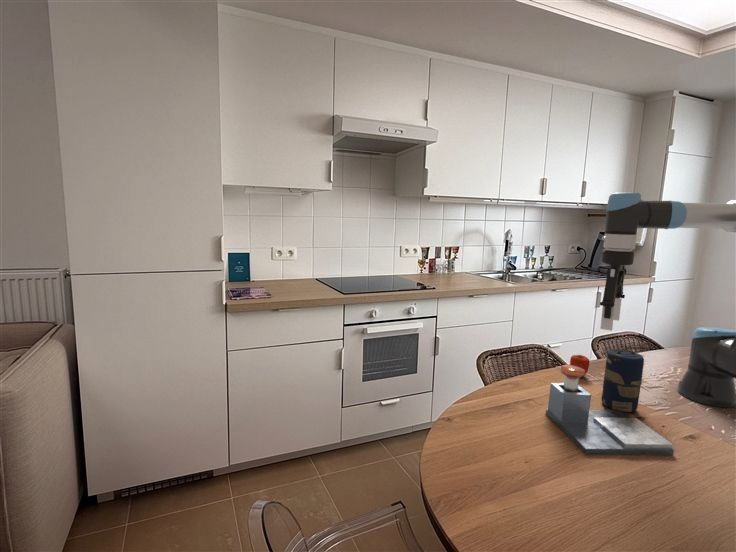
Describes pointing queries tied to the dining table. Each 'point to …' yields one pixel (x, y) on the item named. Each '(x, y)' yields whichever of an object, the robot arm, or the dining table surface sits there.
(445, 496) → the dining table surface
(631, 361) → the canister
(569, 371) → the pin
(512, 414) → the dining table surface
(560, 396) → the grey l-shaped stand
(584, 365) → the apple
